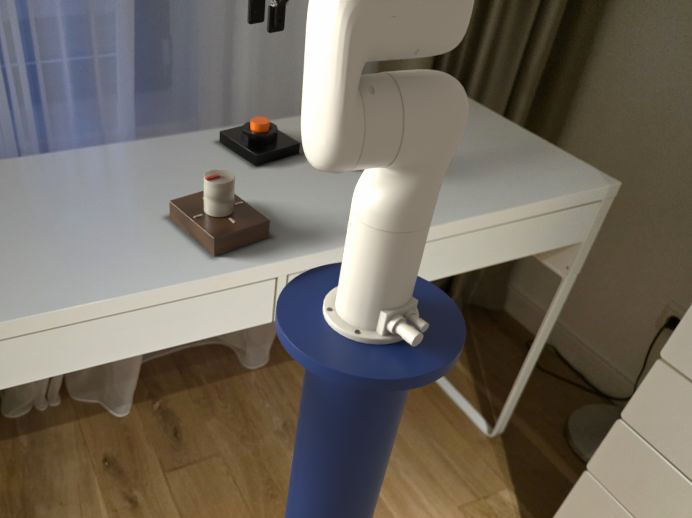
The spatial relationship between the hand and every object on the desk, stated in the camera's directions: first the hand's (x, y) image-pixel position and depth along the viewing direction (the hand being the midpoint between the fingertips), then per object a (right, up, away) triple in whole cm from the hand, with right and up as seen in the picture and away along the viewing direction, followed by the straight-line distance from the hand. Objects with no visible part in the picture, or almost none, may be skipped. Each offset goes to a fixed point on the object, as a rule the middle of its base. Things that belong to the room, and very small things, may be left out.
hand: (265, 25), depth 110 cm
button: (0, -13, +12) cm, 18 cm away
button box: (0, -16, +14) cm, 21 cm away
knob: (-8, -33, -10) cm, 35 cm away
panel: (-8, -35, -8) cm, 37 cm away
